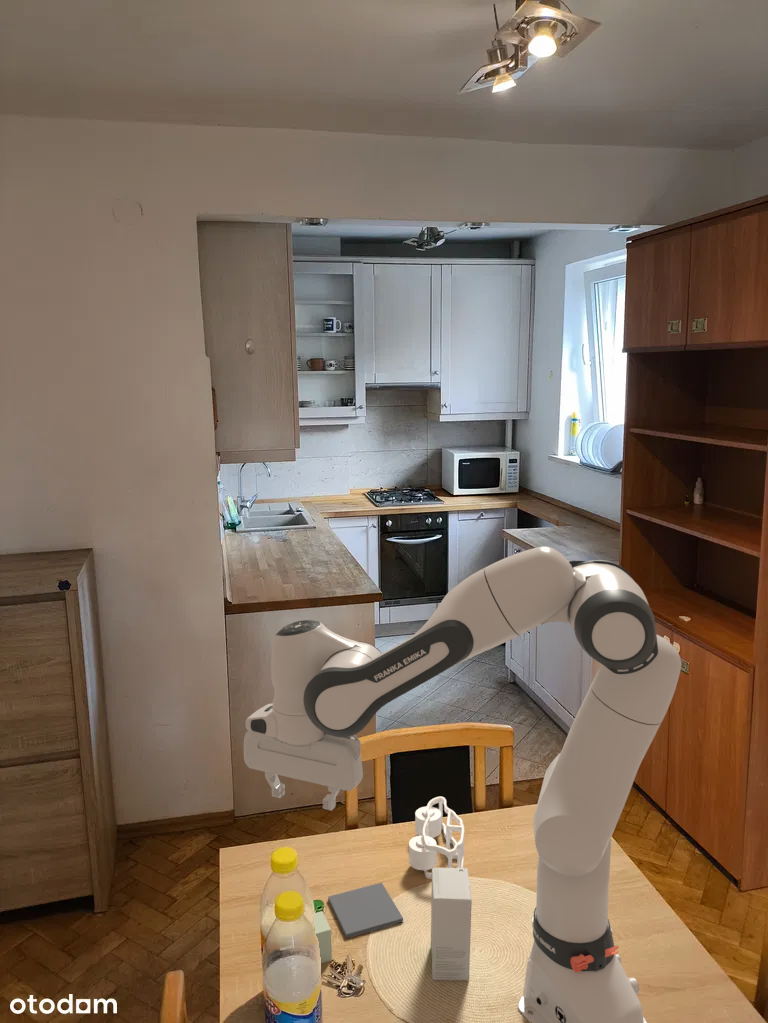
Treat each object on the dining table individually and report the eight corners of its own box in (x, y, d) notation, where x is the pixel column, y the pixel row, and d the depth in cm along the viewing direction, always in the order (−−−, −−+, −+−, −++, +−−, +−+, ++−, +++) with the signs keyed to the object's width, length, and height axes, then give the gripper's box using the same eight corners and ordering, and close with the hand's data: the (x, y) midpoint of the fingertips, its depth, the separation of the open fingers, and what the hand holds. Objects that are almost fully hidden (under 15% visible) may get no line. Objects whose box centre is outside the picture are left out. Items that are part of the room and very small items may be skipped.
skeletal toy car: (417, 824, 171) (417, 794, 170) (467, 828, 170) (467, 798, 168) (406, 881, 152) (405, 848, 151) (461, 886, 150) (461, 852, 149)
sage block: (331, 960, 131) (331, 929, 130) (303, 968, 130) (302, 937, 129) (323, 941, 136) (322, 910, 135) (296, 948, 134) (295, 918, 133)
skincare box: (430, 945, 134) (430, 865, 132) (468, 946, 134) (468, 865, 132) (432, 982, 126) (431, 897, 124) (472, 983, 126) (472, 898, 123)
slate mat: (403, 921, 140) (403, 918, 140) (346, 938, 136) (346, 934, 136) (381, 886, 150) (381, 882, 150) (328, 900, 147) (328, 896, 146)
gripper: (368, 724, 120) (370, 805, 122) (258, 703, 128) (261, 779, 130) (350, 741, 114) (352, 826, 116) (236, 718, 122) (240, 798, 124)
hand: (303, 801), depth 123 cm, fingers open, 8 cm apart
